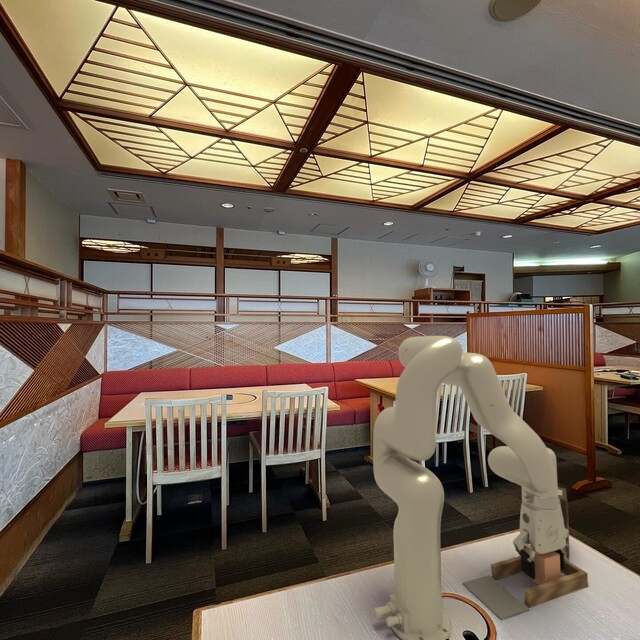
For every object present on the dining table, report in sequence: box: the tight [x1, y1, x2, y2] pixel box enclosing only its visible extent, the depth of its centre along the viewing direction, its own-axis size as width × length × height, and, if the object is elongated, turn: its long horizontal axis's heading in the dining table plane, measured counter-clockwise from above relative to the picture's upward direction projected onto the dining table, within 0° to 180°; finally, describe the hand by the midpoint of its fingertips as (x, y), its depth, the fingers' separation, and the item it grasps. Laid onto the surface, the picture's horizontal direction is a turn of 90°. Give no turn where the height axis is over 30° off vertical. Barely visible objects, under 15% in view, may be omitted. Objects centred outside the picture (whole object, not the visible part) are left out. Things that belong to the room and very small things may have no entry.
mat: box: [462, 574, 531, 621], centre depth 75 cm, size 8×11×1 cm
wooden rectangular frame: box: [490, 555, 589, 609], centre depth 80 cm, size 19×10×3 cm, turn 109°
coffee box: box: [558, 486, 570, 562], centre depth 92 cm, size 9×6×16 cm
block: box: [525, 544, 562, 586], centre depth 81 cm, size 5×5×7 cm
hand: (543, 570), depth 81 cm, fingers open, 9 cm apart
